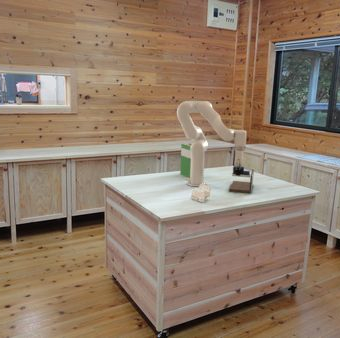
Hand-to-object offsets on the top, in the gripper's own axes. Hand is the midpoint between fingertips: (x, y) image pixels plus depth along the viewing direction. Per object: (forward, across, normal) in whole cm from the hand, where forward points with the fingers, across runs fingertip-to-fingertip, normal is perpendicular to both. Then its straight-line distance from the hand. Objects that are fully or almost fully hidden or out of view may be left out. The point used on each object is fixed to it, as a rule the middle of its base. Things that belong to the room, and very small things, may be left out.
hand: (238, 174), depth 259 cm
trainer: (+1, 0, +2) cm, 2 cm away
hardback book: (+11, -28, -39) cm, 49 cm away
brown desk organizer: (+11, -4, +3) cm, 12 cm away
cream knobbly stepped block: (+11, +32, -19) cm, 39 cm away
